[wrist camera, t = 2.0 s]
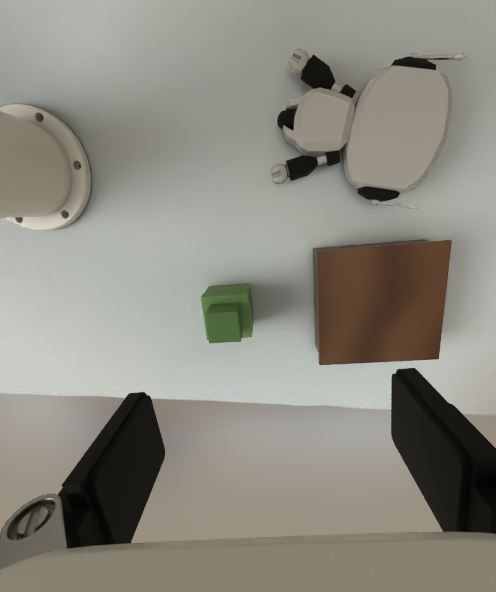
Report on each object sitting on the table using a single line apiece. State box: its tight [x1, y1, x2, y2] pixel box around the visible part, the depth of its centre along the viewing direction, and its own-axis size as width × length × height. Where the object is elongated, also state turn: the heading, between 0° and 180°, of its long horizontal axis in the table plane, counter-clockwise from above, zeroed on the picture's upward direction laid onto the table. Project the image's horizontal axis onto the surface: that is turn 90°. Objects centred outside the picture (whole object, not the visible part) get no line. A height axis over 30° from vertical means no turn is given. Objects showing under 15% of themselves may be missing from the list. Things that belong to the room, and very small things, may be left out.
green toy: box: [201, 284, 253, 343], centre depth 31 cm, size 5×5×7 cm
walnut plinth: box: [313, 240, 452, 365], centre depth 31 cm, size 13×13×4 cm
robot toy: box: [271, 49, 467, 209], centre depth 27 cm, size 12×4×15 cm
